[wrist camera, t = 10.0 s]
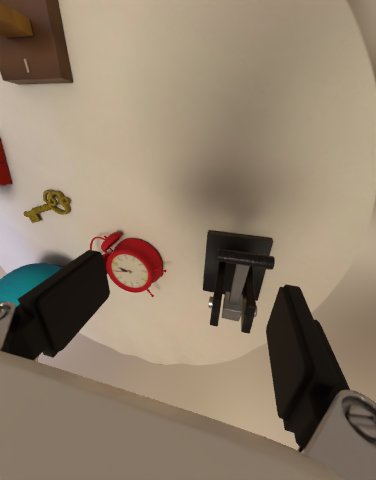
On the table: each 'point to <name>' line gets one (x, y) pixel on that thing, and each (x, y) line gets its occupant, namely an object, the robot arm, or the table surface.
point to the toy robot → (4, 169)
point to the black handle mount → (222, 273)
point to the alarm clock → (131, 263)
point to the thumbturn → (13, 23)
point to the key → (49, 205)
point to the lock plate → (36, 46)
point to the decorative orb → (24, 280)
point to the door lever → (240, 278)
